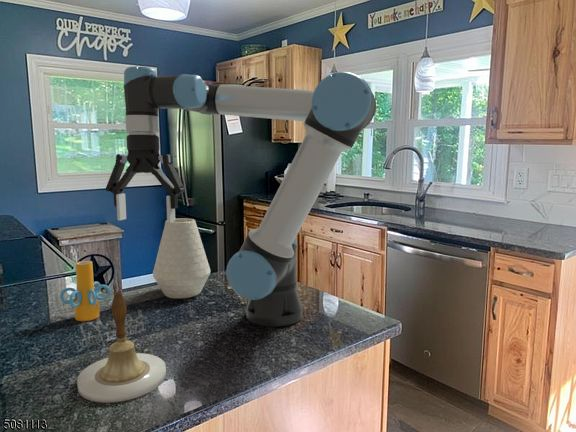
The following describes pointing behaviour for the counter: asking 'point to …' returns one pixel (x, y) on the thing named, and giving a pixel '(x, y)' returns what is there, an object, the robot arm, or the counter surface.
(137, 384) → the hub plate
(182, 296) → the vase
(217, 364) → the counter surface
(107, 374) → the hand bell
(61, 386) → the counter surface
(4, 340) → the counter surface
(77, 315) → the cylinder
